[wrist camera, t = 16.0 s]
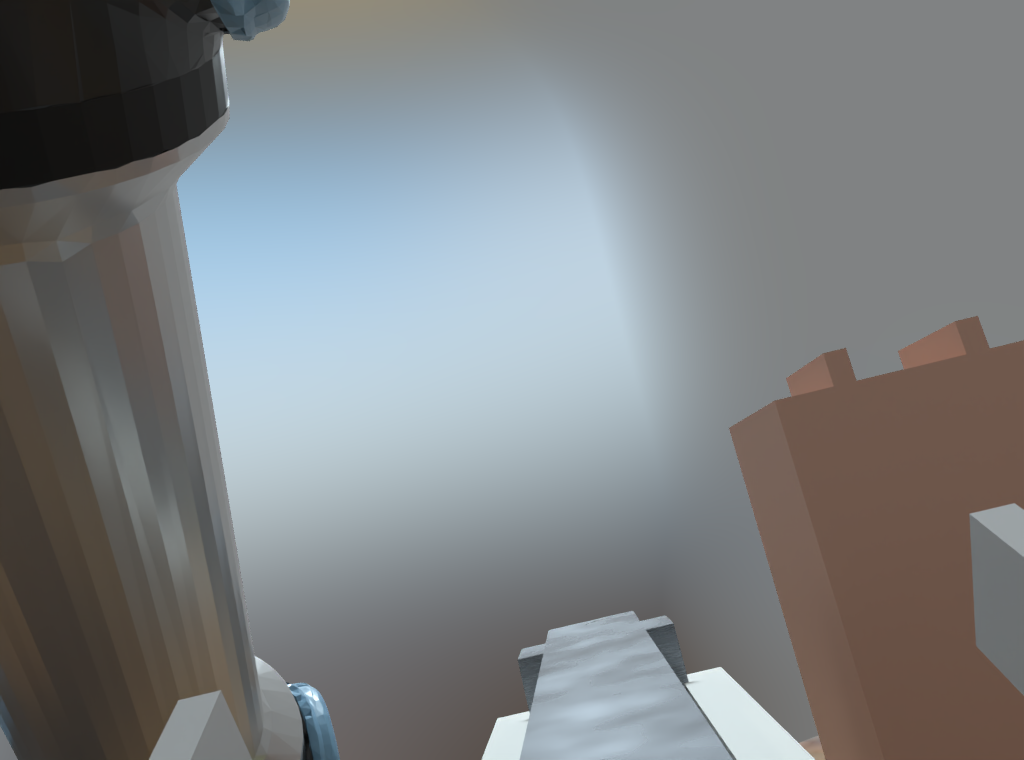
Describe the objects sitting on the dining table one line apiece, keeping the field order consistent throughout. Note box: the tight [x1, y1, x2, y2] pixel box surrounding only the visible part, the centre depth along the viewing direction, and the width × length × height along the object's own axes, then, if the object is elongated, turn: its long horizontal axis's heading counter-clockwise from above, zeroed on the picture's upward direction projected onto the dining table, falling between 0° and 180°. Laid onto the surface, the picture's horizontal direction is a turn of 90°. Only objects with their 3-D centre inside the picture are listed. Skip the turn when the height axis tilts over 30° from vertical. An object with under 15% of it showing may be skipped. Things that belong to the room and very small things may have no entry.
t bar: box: [518, 611, 733, 760], centre depth 20 cm, size 6×22×4 cm, turn 175°
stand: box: [729, 316, 1024, 760], centre depth 36 cm, size 12×10×32 cm
